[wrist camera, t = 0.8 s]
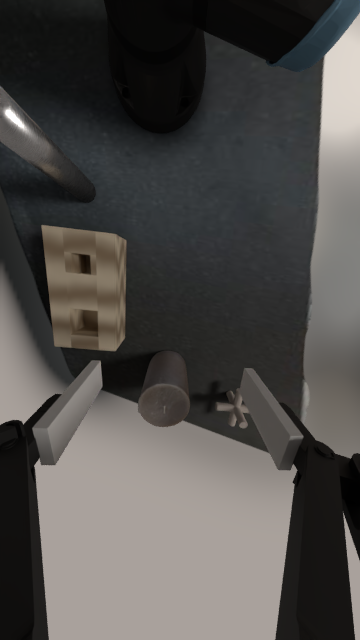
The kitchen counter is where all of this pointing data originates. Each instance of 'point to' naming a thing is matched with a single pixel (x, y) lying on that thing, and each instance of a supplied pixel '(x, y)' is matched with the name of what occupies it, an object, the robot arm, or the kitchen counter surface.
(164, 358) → the pillar candle
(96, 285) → the hole block
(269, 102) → the kitchen counter surface
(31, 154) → the pin
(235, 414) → the pipe connector
